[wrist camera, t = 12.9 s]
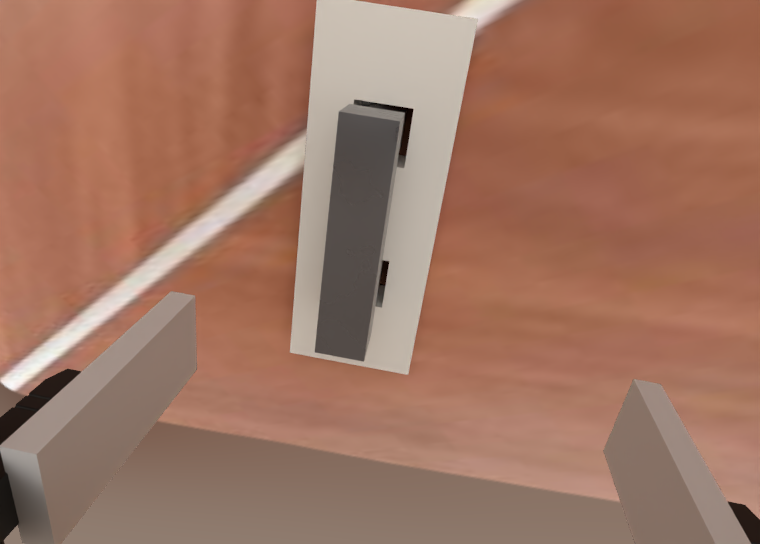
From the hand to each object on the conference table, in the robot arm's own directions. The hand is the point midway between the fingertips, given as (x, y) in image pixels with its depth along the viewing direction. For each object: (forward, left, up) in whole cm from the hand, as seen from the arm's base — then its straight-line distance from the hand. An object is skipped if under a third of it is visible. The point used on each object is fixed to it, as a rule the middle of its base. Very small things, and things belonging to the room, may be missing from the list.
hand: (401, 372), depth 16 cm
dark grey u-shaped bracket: (+2, -3, -23) cm, 23 cm away
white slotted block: (+2, -4, -23) cm, 23 cm away
